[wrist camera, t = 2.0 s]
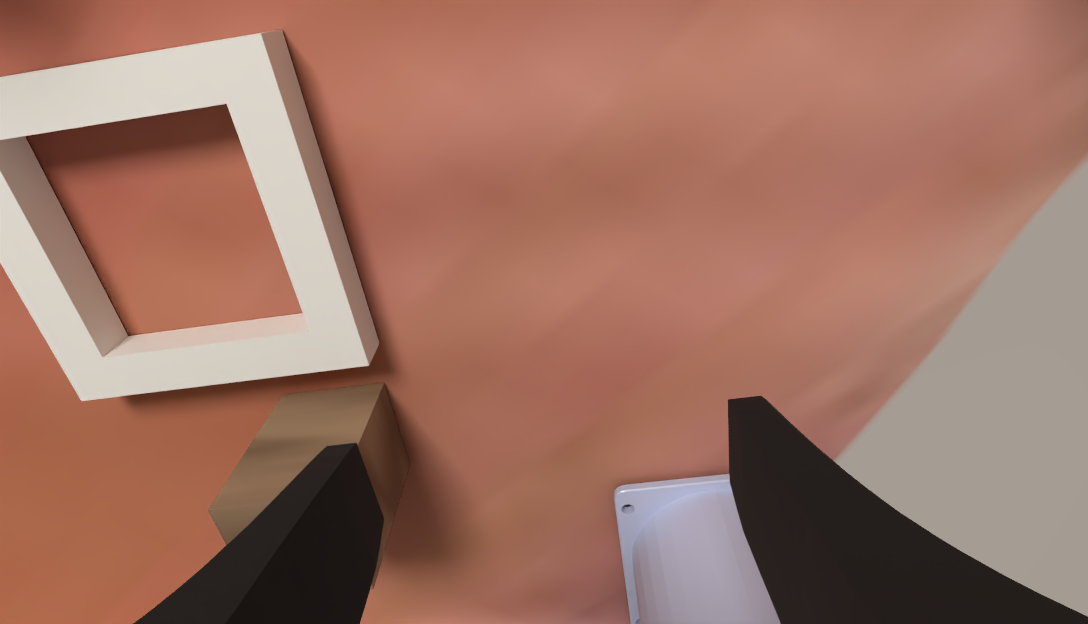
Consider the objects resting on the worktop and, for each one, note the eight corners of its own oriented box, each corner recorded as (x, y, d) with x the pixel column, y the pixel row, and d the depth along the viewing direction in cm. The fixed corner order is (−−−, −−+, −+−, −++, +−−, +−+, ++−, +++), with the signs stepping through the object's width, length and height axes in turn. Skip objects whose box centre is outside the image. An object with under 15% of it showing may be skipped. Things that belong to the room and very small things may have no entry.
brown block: (410, 463, 26) (373, 588, 21) (315, 474, 26) (255, 599, 21) (384, 382, 24) (336, 496, 19) (282, 394, 25) (208, 510, 19)
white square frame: (379, 343, 23) (369, 365, 22) (107, 377, 24) (81, 401, 23) (281, 29, 19) (260, 33, 17) (-55, 85, 19) (-99, 94, 18)
